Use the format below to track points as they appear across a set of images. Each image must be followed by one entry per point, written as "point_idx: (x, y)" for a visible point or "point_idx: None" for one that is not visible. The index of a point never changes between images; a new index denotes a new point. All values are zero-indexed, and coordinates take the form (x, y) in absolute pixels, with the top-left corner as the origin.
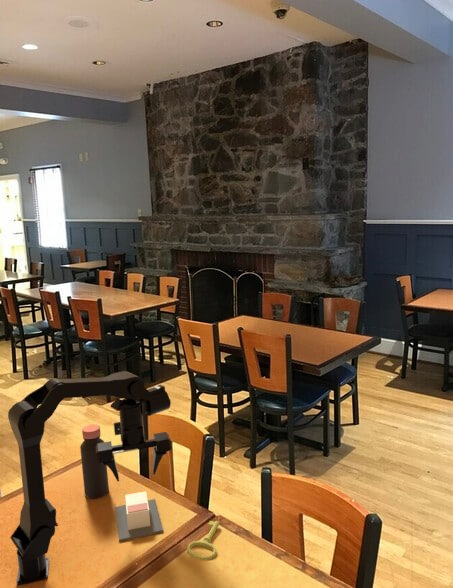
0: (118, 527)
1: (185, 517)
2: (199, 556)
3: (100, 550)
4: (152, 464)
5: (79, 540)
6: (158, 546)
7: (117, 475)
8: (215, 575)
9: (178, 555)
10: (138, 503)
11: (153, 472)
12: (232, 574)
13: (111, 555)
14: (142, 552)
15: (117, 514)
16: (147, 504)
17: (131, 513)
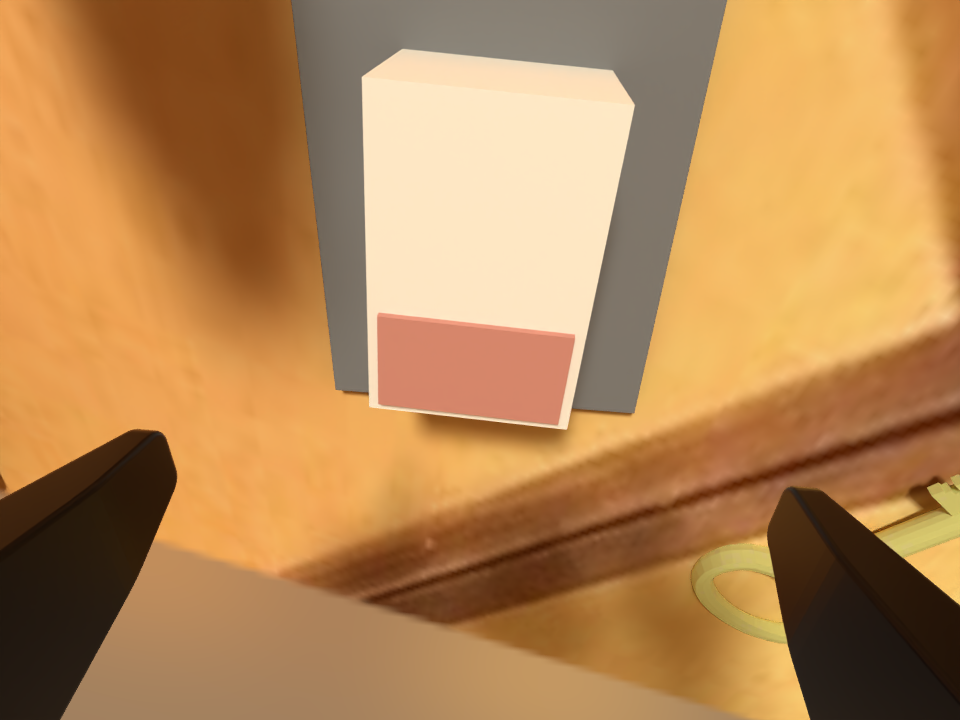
0: (329, 272)
1: (850, 323)
2: (728, 620)
3: (231, 403)
4: (877, 608)
5: (67, 269)
6: (563, 490)
7: (90, 641)
8: (734, 690)
9: (640, 571)
10: (493, 304)
11: (778, 598)
12: (799, 707)
13: (299, 458)
14: (468, 496)
15: (315, 90)
16: (575, 354)
17: (410, 411)
